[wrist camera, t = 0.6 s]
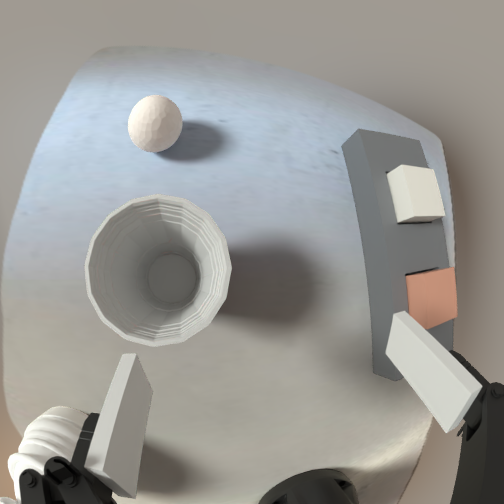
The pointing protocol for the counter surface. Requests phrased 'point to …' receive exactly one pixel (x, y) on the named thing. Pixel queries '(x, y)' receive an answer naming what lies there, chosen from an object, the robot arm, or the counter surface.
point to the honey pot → (45, 443)
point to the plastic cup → (157, 270)
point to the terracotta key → (432, 297)
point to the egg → (155, 123)
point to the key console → (391, 237)
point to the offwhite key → (415, 194)
